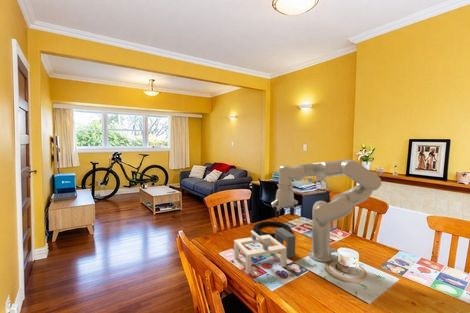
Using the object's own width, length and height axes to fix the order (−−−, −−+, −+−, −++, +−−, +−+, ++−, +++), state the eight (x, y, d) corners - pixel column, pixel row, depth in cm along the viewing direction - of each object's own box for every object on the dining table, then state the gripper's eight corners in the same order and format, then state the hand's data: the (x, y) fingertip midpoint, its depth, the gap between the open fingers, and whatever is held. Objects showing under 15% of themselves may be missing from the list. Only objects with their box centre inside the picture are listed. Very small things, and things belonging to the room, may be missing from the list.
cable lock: (296, 224, 182) (284, 238, 156) (296, 229, 183) (284, 244, 156) (261, 218, 195) (245, 230, 169) (261, 223, 196) (245, 236, 169)
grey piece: (274, 247, 151) (275, 228, 150) (281, 246, 153) (282, 227, 152) (287, 258, 138) (287, 237, 137) (295, 256, 139) (295, 235, 139)
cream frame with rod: (268, 250, 147) (269, 227, 145) (286, 266, 129) (286, 240, 128) (234, 257, 139) (234, 232, 138) (247, 274, 121) (247, 246, 120)
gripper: (294, 185, 149) (293, 212, 150) (268, 186, 143) (268, 215, 144) (301, 187, 142) (300, 216, 143) (275, 189, 136) (274, 219, 137)
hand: (284, 216), depth 144 cm, fingers open, 9 cm apart
